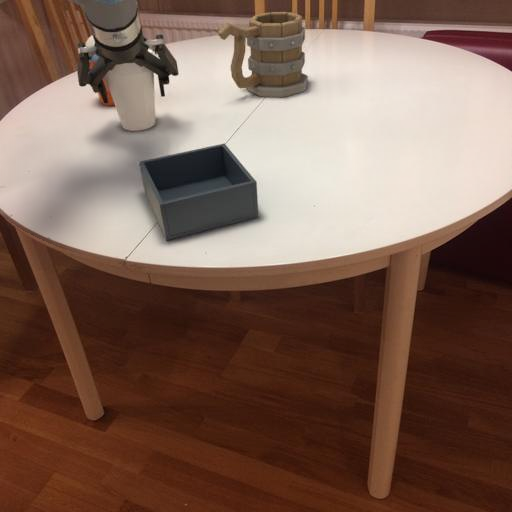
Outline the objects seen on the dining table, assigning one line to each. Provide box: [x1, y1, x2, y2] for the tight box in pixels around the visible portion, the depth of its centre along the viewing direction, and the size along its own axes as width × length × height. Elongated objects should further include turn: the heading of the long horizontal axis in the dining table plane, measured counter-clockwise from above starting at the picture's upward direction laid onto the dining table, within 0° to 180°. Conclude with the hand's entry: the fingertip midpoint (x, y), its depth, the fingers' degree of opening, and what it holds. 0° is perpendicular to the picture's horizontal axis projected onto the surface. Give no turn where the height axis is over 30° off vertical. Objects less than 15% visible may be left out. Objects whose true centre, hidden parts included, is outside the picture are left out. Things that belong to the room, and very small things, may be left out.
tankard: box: [217, 11, 309, 98], centre depth 108 cm, size 20×13×15 cm, turn 123°
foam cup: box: [105, 49, 156, 132], centre depth 97 cm, size 10×9×13 cm
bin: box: [138, 143, 259, 241], centre depth 74 cm, size 13×13×6 cm
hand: (133, 93), depth 100 cm, fingers open, 10 cm apart
